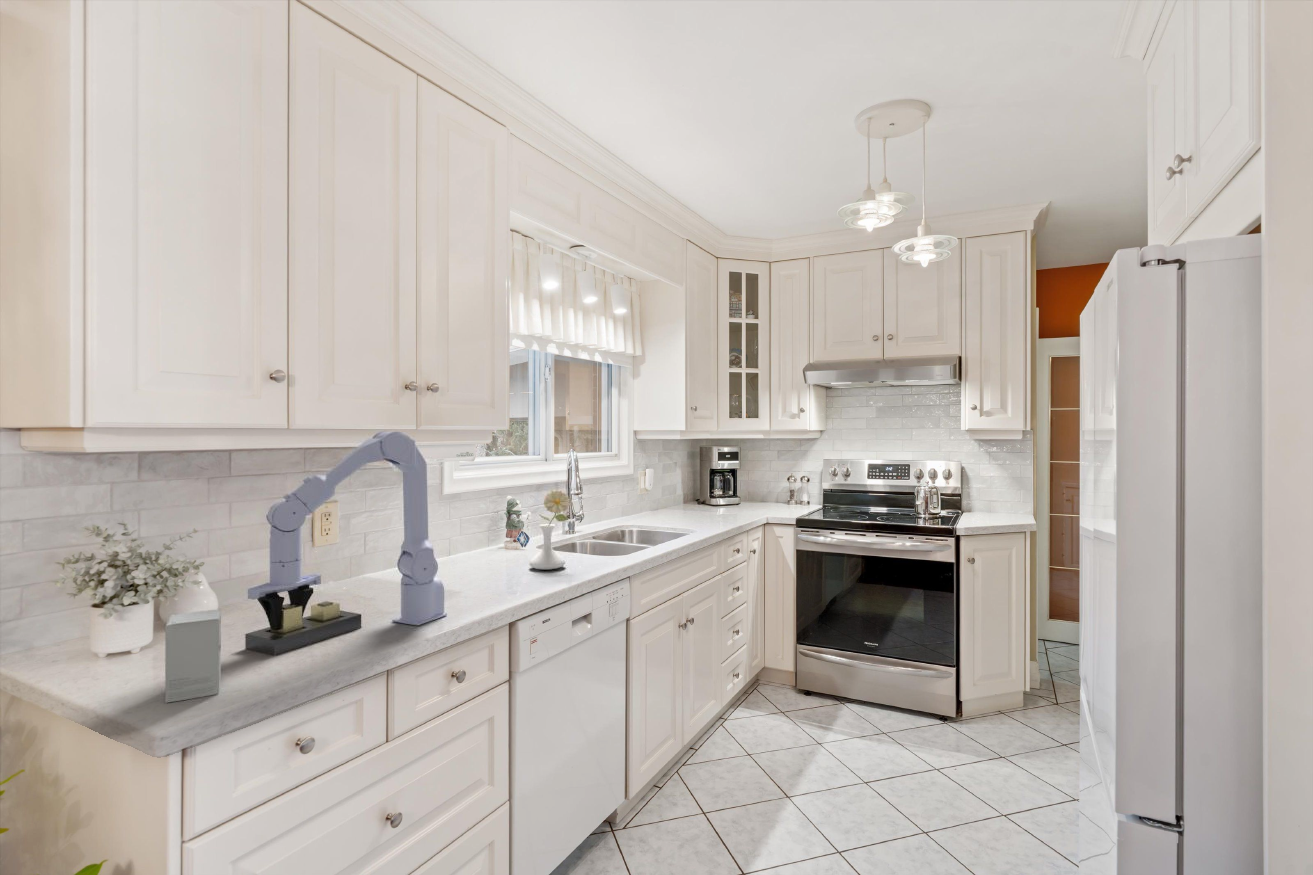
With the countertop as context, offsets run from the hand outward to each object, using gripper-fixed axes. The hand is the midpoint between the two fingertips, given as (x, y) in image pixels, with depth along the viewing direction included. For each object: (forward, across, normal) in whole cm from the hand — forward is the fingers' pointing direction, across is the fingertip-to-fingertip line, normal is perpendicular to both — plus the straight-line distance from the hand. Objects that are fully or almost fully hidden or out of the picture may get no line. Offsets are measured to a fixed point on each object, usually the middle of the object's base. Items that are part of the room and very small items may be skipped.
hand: (286, 626), depth 133 cm
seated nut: (+4, -9, 0) cm, 10 cm away
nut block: (+2, 0, 0) cm, 2 cm away
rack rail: (+4, -4, 0) cm, 6 cm away
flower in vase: (+4, -84, +6) cm, 85 cm away
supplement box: (+4, +22, +9) cm, 25 cm away
